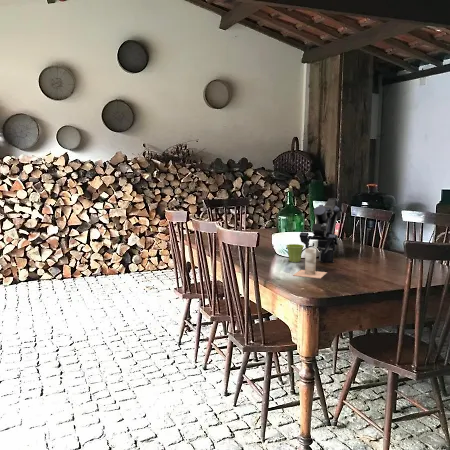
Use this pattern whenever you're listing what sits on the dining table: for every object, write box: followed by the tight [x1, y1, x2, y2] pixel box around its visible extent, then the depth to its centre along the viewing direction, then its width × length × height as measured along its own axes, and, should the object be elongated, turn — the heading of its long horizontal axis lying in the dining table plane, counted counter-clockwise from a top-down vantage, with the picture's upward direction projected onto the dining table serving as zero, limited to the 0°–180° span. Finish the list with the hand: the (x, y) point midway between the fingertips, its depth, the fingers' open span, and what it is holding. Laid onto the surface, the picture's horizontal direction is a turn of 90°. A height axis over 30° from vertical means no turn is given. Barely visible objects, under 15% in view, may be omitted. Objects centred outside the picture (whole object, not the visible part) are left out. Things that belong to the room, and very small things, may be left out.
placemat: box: [292, 269, 328, 280], centre depth 233 cm, size 13×13×1 cm
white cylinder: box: [304, 247, 317, 275], centre depth 232 cm, size 5×5×12 cm
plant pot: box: [286, 243, 305, 263], centre depth 263 cm, size 9×9×9 cm
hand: (315, 252), depth 239 cm, fingers open, 9 cm apart
